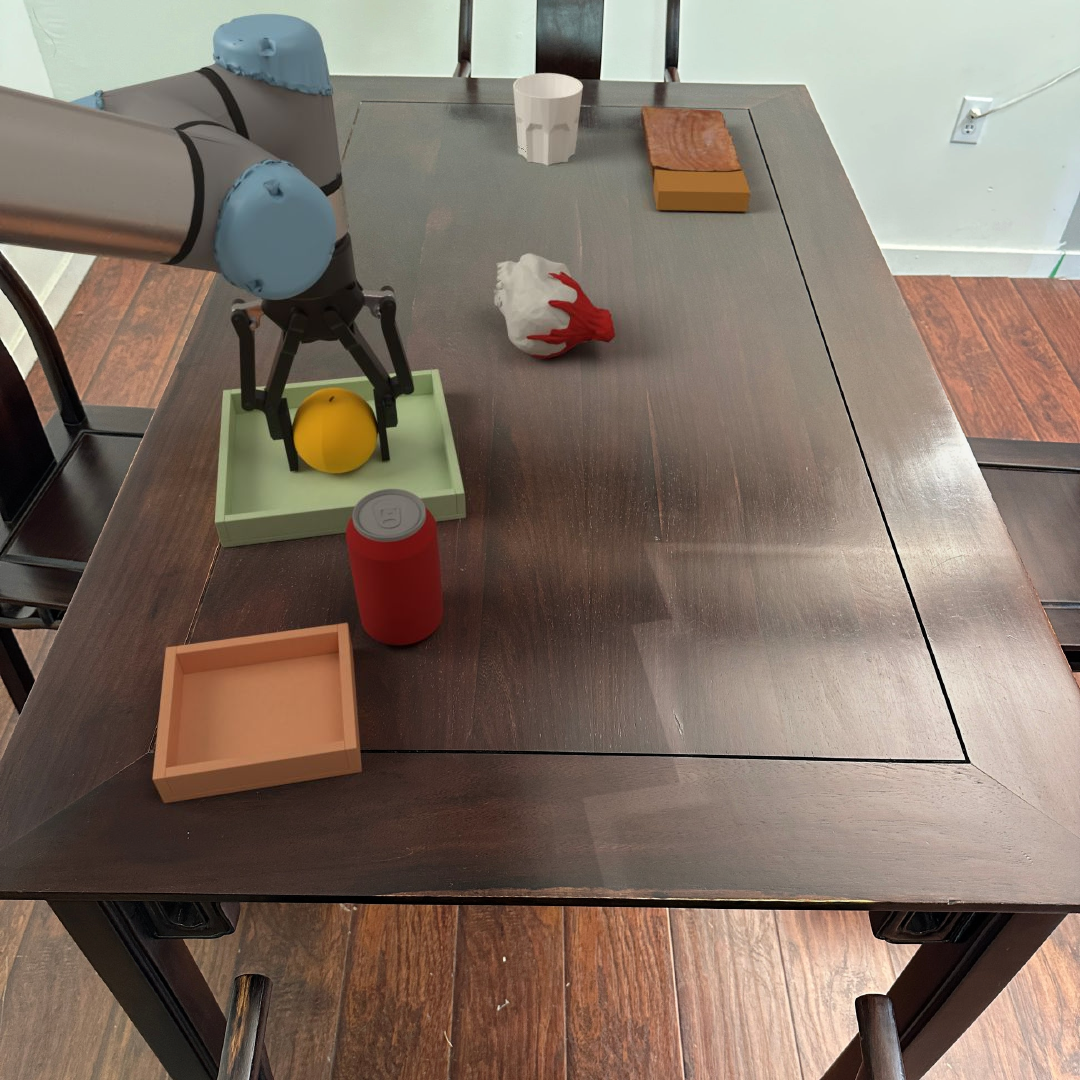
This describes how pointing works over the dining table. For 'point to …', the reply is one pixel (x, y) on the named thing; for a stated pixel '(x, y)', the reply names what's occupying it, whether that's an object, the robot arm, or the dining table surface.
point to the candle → (547, 307)
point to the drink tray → (257, 713)
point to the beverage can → (395, 566)
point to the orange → (335, 430)
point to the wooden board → (693, 161)
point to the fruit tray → (329, 498)
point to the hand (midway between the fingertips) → (339, 456)
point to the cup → (547, 116)
